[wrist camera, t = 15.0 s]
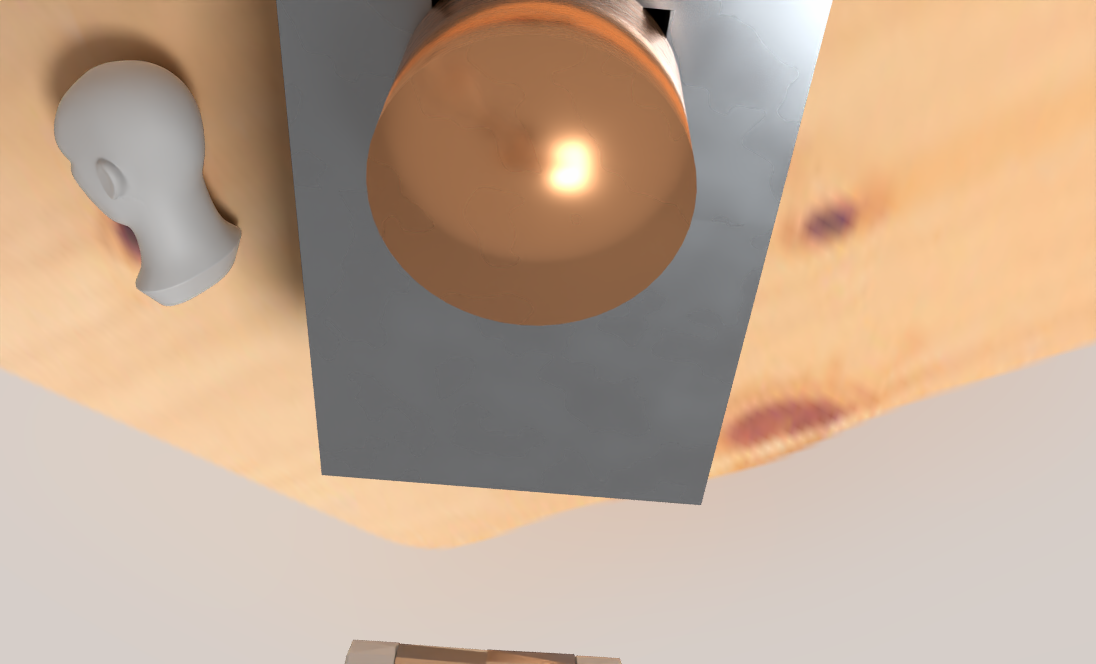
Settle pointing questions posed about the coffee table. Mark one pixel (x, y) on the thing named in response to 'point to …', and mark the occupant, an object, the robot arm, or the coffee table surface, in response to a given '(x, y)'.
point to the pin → (534, 158)
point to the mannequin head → (148, 173)
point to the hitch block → (550, 350)
